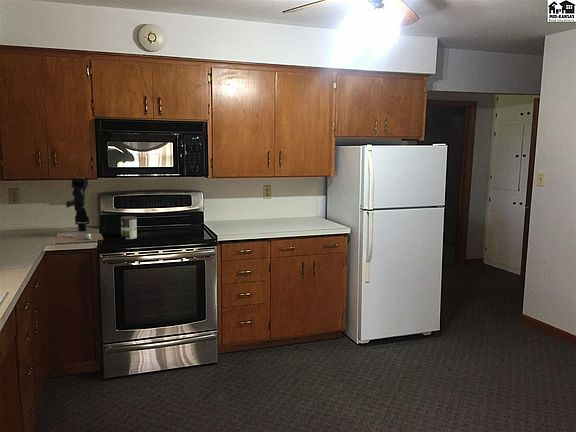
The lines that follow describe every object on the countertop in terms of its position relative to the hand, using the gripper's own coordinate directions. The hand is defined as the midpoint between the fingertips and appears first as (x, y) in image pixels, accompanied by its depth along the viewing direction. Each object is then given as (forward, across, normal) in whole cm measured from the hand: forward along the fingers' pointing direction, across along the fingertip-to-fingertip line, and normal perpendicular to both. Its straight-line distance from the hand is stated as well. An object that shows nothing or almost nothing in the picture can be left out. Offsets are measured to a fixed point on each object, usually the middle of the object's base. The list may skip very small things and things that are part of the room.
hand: (79, 219), depth 334 cm
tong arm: (+10, +13, -2) cm, 17 cm away
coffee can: (+12, +13, +30) cm, 35 cm away
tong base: (+11, +4, -4) cm, 12 cm away
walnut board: (+12, +11, -1) cm, 16 cm away
